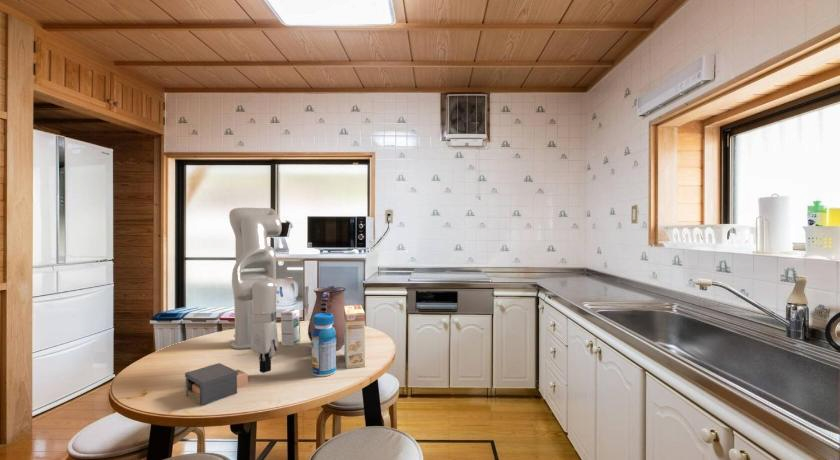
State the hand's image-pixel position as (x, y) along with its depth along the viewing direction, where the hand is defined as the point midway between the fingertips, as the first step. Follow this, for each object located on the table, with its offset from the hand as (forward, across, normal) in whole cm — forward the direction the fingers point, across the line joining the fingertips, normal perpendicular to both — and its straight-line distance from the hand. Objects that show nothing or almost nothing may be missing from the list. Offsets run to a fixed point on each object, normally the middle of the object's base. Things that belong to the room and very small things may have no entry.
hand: (265, 371), depth 127 cm
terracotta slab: (+2, 0, -14) cm, 15 cm away
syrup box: (+2, -24, +25) cm, 35 cm away
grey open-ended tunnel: (+2, 0, -16) cm, 16 cm away
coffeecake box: (+2, +14, +28) cm, 31 cm away
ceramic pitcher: (+2, -4, +30) cm, 31 cm away
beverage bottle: (+2, +14, +14) cm, 20 cm away
